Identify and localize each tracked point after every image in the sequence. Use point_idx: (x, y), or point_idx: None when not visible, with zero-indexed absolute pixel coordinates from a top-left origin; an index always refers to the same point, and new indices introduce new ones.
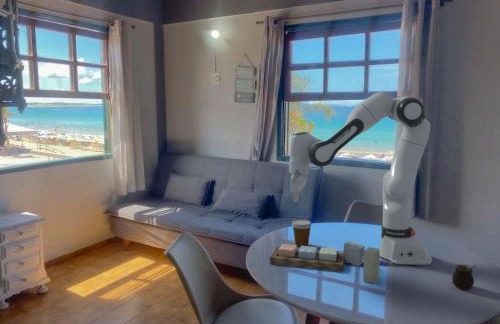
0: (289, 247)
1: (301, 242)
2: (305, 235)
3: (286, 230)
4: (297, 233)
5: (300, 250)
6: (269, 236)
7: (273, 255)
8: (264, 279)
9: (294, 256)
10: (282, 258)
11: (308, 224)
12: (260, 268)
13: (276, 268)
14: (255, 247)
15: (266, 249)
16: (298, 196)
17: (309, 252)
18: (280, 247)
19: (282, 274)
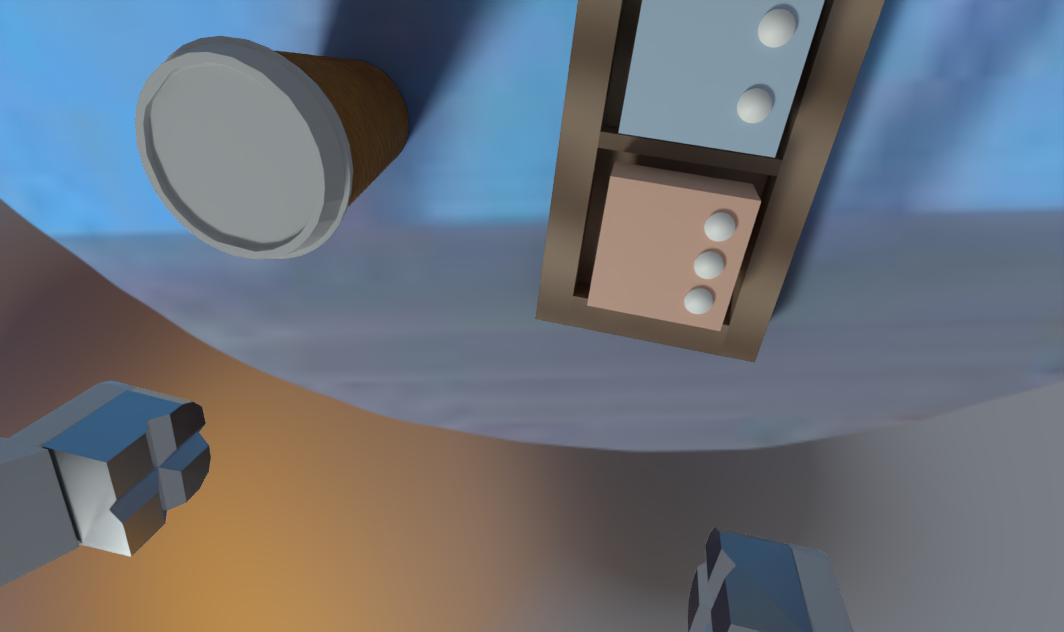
0: (672, 241)
1: (395, 125)
2: (356, 96)
3: (101, 244)
4: (364, 182)
5: (752, 137)
6: (258, 352)
7: (717, 340)
8: (1027, 365)
9: None
10: (784, 275)
11: (272, 76)
12: (827, 392)
13: (836, 294)
14: (470, 426)
15: (492, 364)
16: (203, 463)
17: (811, 37)
18: (674, 315)
19: (959, 250)
